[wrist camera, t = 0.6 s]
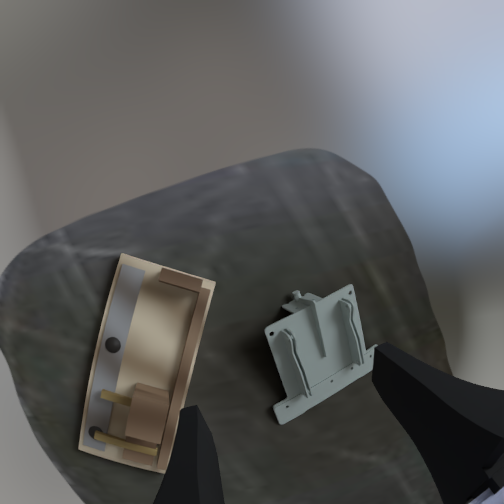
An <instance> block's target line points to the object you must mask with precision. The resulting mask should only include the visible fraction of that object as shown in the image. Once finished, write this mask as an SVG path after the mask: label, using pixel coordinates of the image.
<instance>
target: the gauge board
mask: <svg viewBox="0 0 504 504" xmlns="http://www.w3.org/2000/svg"><path fill="white" fill-rule="evenodd" d="M215 283H216V282H214V281H211V280H208V279H204V278H201V277H197V276H194V275H191V274H187V273H184V272H181V271H177V270H174V269H171V268H168V267H164V266H161V265H158V264H155V263H151V262H148V261H145V260H142V259H139V258H136V257H132V256H129V255H126V254H123V253H121V256H120V259H119V263H118V266H117V269H116V273H115V276H114V279H113V283H112V286H111V290H110V293H109V297H108V301H107V304H106V308H105V312H104V316H103V320H102V324H101V328H100V332H99V336H98V340H97V345H96V349H95V354H94V358H93V363H92V368H91V373H90V378H89V383H88V389H87V394H86V400H85V406H84V412H83V419H82V425H81V433H80V440H79V448H78V449H79V450H82V451H84V452H87V453H90V454H93V455H96V456H99V457H103V458H106V459H109V460H113V461H116V462H119V463H123V464H127V465H130V466H134V467H138V468H142V469H146V470H150V471H155V472H159V473H164V474H165V472H166V469H167V466H168V463H169V460H170V456H171V452H172V448H173V444H174V440H175V436H176V431H177V426H178V420H179V413H180V410H181V409H182V408H183V407H184V403H185V399H186V395H187V391H188V387H189V383H190V379H191V375H192V371H193V367H194V363H195V359H196V355H197V351H198V347H199V344H200V340H201V336H202V332H203V328H204V324H205V321H206V317H207V313H208V309H209V305H210V302H211V298H212V294H213V290H214V287H215ZM137 382H138V383H142V384H145V385H149V386H152V387H156V388H160V389H163V390H167V391H168V394H169V408H168V412H167V417H166V421H165V426H164V430H163V434H162V439H161V443H160V444H157V443H153V442H149V441H145V440H141V439H137V438H133V437H130V436H126V435H125V432H126V426H127V421H128V416H129V411H130V407H129V406H125V405H122V404H119V403H115V402H112V401H109V400H106V399H103V398H100V397H101V391H102V389H105V390H108V391H111V392H114V393H117V394H120V395H124V396H127V397H130V398H132V397H133V393H134V390H135V388H136V385H137Z"/></svg>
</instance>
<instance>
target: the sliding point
mask: <svg viewBox="0 0 504 504" xmlns="http://www.w3.org/2000/svg"><path fill="white" fill-rule="evenodd" d="M100 398H103V399H106V400H109V401H112V402H115V403H119V404H122V405H125V406H129V407H130V411H129V416H128V421H127V426H126V432H125V435H126V436H130V437H133V438H137V439H141V440H145V441H149V442H153V443H157V444H160V443H161V439H162V434H163V430H164V426H165V421H166V417H167V412H168V408H169V394H168V391H167V390H163V389H160V388H156V387H152V386H149V385H145V384H142V383H138V382H137V385H136V388H135V390H134V393H133V397H132V398H130V397H127V396H124V395H120V394H117V393H114V392H111V391H108V390H105V389H102V391H101V397H100Z"/></svg>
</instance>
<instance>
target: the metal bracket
mask: <svg viewBox="0 0 504 504" xmlns="http://www.w3.org/2000/svg"><path fill="white" fill-rule="evenodd" d="M349 291H351V294H350V295H349V294H348V293H349ZM299 292H300V291H298V290H297V291H294V292H293V293H292V294H294V296H293V297H294V299H295V300H293V301H291V302H289V304H284V305H282V308H284V309H286V310H287V311H289V312H291V313H293V314H292V315H290V316H288V317H286V318H284V319H281V320H279V321H277V322H275V323H273V324H271V325H269V326H267V327H266V328H265V329H264V331H265V334H266V337H267V340H268V343H269V346H270V349H271V352H272V354H273V357H274V360H275V363H276V366H277V369H278V372H279V374H280V377H281V380H282V383H283V386H284V389H285V391H286V394H287V398H286V399H284V400H283V401H281V402H279V403H277V404H275V405H274V406H273V410H274V412H275V415H276V417H277V420H278V422H279V424H284V423H286V422H288V421H290V420H292V419H294V418H295V417H297V416H299V415H301V414H302V413H304V412H305V411H306V410H308V409H309V408H311V407H313V406H315V405H316V404H318V403H320V402H321V401H323V400H325V399H326V398H328V397H330V396H331V395H333V394H334V393H336V392H338V391H339V390H341V389H342V388H344V387H345V386H347V385H349V384H350V383H352V382H353V381H355V380H356V379H358V378H359V377H362V376H364V375H365V374H366V373H368V372H369V371H371V370H372V369H373V359H374V347H376V346H378V345H374V346H372V347H371V348H369V349H368V350H366V349H365V343H364V338H363V333H362V327H361V322H360V317H359V312H358V307H357V302H356V297H355V293H354V288H353V285H351V284H349V285H347V286H345V287H344V288H342V289H340V290H338V291H336V292H334V293H332V294H330V295H329V296H327V297H325V298H320V297H318V296H315V295H313V294H311V293H307V294H305V296H301V294H299ZM270 332H274V334H273V335H272V336H270V335H269V334H270ZM370 355H371V356H370ZM351 368H352V369H351ZM331 380H332V381H331ZM286 406H288V407H286Z"/></svg>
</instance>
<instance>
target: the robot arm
mask: <svg viewBox="0 0 504 504" xmlns="http://www.w3.org/2000/svg"><path fill="white" fill-rule="evenodd" d="M372 382H373V384H374V386H375V388H376V389H377V391H378V393H379V395H380V396H381V398H382V400H383V401H384V403H385V404H386V405H387V407H388V408H389V409H390V411H391V412H392V413H393V415H394V416H395V417H396V419H397V420H398V421H399V423H400V424H401V425H402V426H403V428H404V429H405V430H406V432H407V433H408V434H409V436H410V437H411V439H412V440H413V442H414V443H415V445H416V447H417V449H418V450H419V452H420V454H421V456H422V457H423V459H424V461H425V463H426V465H427V467H428V469H429V471H430V473H431V475H432V477H433V479H434V482H435V484H436V486H437V488H438V491H439V493H440V496H441V498H442V501H443V503H444V504H504V390H498V389H493V388H489V387H484V386H480V385H476V384H473V383H470V382H467V381H464V380H461V379H459V378H456V377H454V376H451V375H449V374H447V373H444V372H442V371H440V370H438V369H436V368H434V367H432V366H430V365H428V364H426V363H424V362H422V361H420V360H418V359H416V358H415V357H413V356H411V355H409V354H407V353H406V352H404V351H402V350H400V349H399V348H397V347H395V346H393V345H392V344H390V343H388V342H386V343H383V344H381V345H379V346H376V347H374V359H373V372H372ZM153 504H225V503H224V497H223V490H222V484H221V477H220V470H219V463H218V456H217V452H216V448H215V444H214V441H213V437H212V433H211V431H210V430H209V428H208V426H207V424H206V422H205V420H204V418H203V416H202V414H201V412H200V410H199V408H198V406H197V405H195V406H191V407H186V408H182V409H181V410H180V413H179V420H178V426H177V431H176V436H175V440H174V444H173V448H172V452H171V456H170V460H169V463H168V466H167V469H166V472H165V475H164V478H163V481H162V484H161V486H160V489H159V491H158V493H157V496H156V498H155V500H154V502H153Z"/></svg>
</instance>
